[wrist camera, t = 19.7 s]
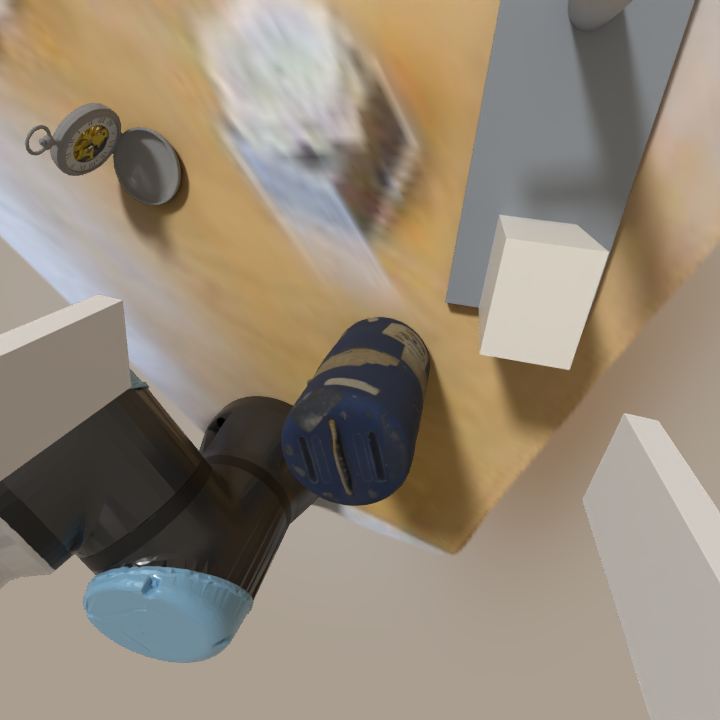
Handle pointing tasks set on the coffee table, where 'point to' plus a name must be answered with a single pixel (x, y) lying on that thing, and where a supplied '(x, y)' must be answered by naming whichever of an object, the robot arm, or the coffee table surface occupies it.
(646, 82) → the gray post stand
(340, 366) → the canister
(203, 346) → the coffee table surface
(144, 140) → the pocket watch
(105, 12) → the coffee table surface
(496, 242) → the white block
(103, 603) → the robot arm
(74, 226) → the coffee table surface
